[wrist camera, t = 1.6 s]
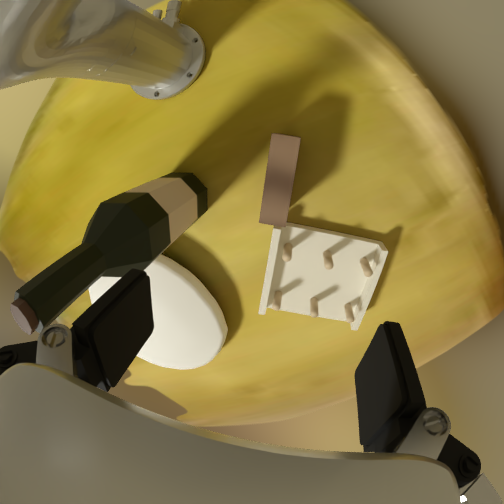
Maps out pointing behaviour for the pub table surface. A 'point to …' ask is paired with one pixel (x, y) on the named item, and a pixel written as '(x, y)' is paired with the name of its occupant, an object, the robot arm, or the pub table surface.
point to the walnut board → (279, 179)
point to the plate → (177, 317)
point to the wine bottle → (113, 245)
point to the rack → (321, 273)
